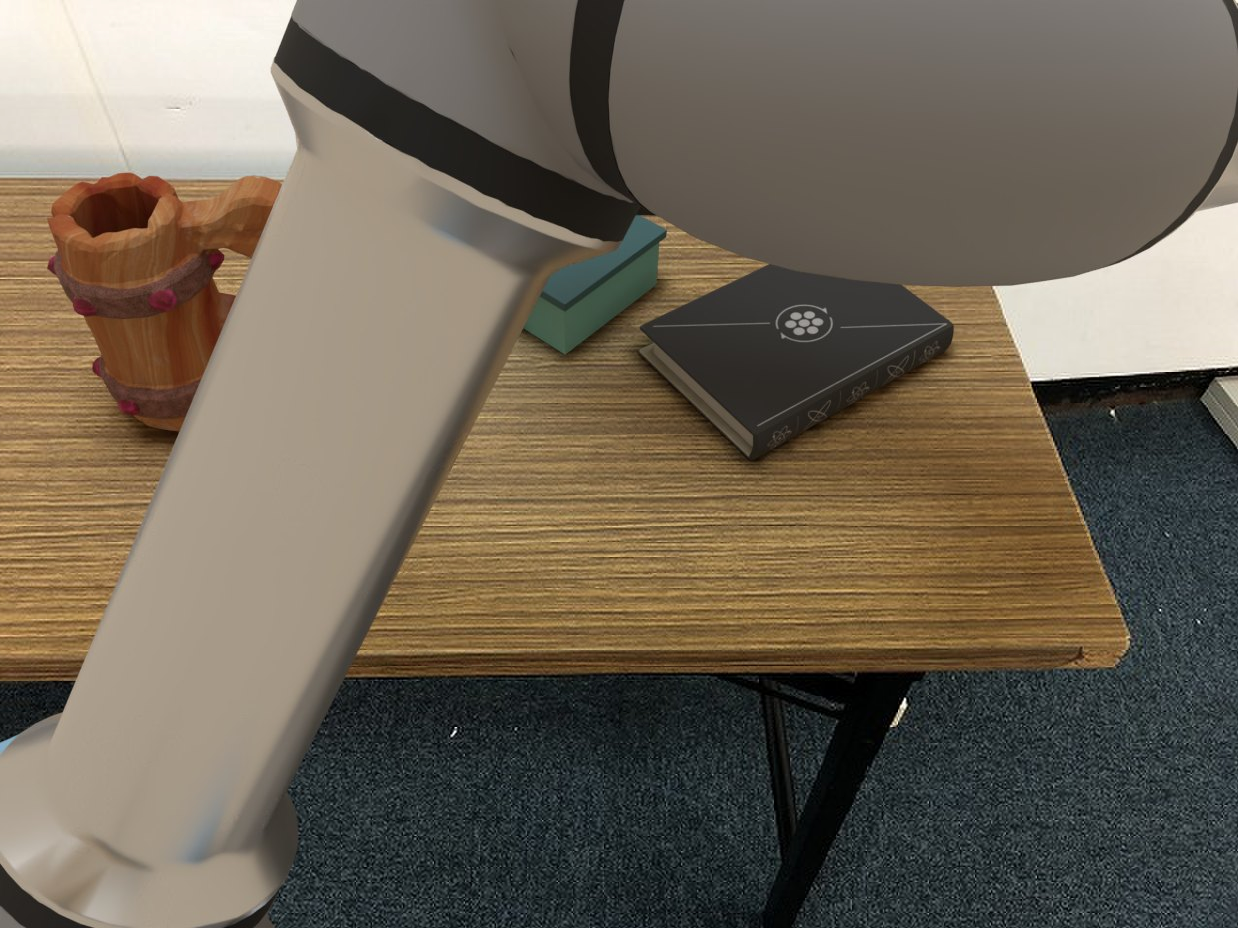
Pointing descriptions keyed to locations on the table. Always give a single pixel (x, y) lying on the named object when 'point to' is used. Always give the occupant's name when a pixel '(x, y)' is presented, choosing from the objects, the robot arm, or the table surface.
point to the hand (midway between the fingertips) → (492, 112)
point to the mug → (153, 281)
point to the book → (790, 350)
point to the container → (597, 288)
